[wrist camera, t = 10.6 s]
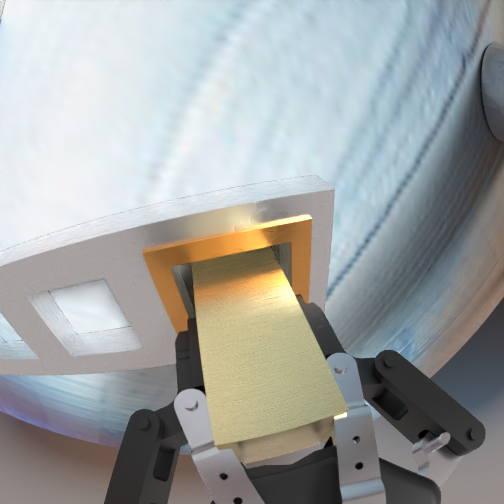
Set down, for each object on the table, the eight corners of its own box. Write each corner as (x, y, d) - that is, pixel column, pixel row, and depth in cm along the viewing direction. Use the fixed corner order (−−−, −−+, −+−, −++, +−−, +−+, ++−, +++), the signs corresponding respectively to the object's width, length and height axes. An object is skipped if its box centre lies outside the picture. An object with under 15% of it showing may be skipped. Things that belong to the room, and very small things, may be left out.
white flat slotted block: (316, 174, 13) (336, 190, 12) (310, 310, 19) (322, 332, 17) (-55, 274, 10) (-67, 292, 8) (6, 357, 16) (0, 375, 14)
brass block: (269, 244, 14) (348, 409, 7) (273, 299, 16) (329, 440, 9) (191, 260, 13) (214, 445, 6) (207, 314, 16) (235, 465, 9)
